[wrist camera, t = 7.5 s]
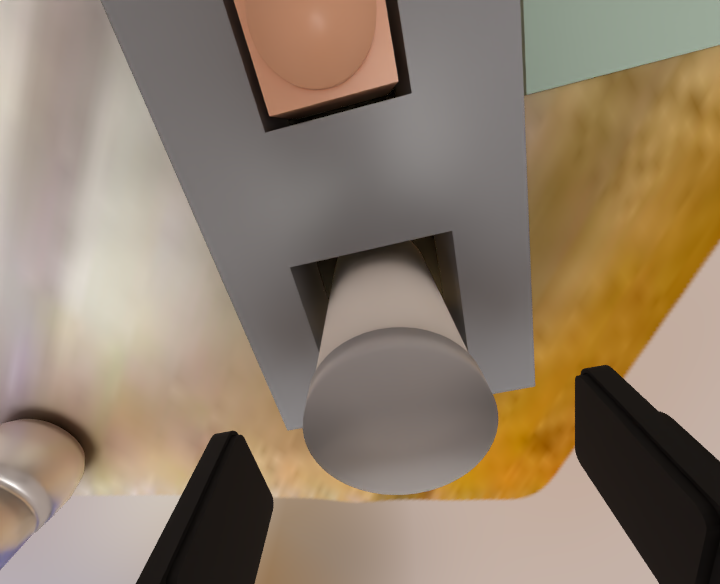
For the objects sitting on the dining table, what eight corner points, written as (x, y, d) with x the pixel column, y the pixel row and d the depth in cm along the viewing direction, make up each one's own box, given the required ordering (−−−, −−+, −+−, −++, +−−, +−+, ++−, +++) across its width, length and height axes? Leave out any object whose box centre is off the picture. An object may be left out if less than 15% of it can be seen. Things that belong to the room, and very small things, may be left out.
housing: (151, -36, 14) (50, -116, 9) (456, -137, 13) (509, -283, 8) (302, 368, 22) (287, 430, 18) (497, 330, 21) (535, 386, 16)
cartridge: (321, 241, 19) (275, 371, 9) (419, 218, 18) (489, 329, 8) (346, 324, 21) (331, 506, 11) (434, 306, 20) (504, 479, 10)
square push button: (263, 6, 14) (209, -62, 9) (365, -26, 14) (368, -116, 9) (295, 119, 16) (264, 115, 11) (387, 94, 15) (400, 78, 10)
